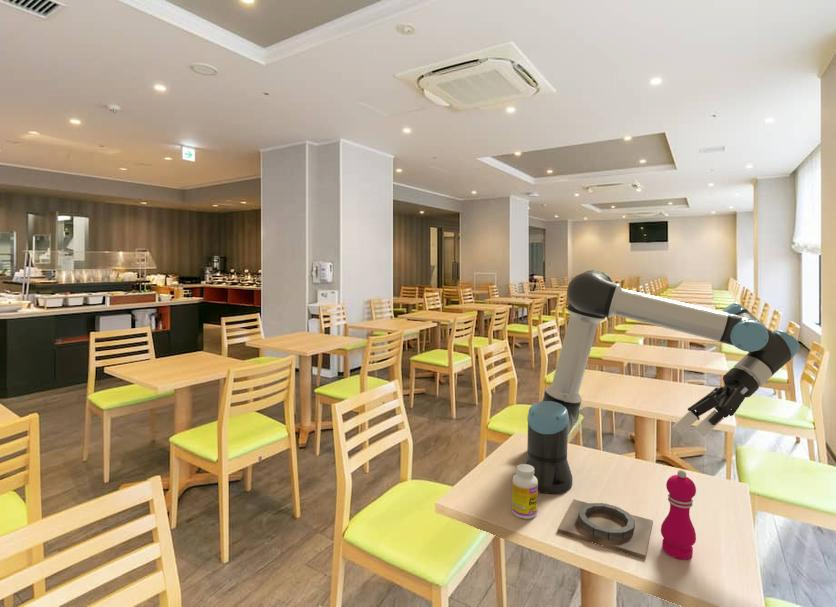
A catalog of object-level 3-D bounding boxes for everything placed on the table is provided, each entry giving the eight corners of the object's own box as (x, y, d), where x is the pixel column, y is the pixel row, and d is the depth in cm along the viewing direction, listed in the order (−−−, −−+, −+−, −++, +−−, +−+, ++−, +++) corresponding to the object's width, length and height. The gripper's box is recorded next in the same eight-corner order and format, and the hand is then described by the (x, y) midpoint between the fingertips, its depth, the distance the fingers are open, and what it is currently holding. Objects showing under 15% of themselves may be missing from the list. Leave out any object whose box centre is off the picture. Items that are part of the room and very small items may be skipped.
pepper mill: (657, 554, 109) (662, 472, 107) (661, 538, 115) (666, 460, 113) (693, 565, 105) (699, 481, 103) (695, 548, 111) (701, 468, 109)
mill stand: (557, 532, 118) (557, 521, 118) (573, 502, 131) (573, 492, 131) (645, 559, 107) (646, 547, 107) (652, 523, 121) (653, 513, 121)
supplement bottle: (530, 523, 122) (531, 476, 120) (507, 514, 126) (508, 468, 125) (541, 511, 127) (542, 466, 125) (519, 503, 131) (519, 459, 130)
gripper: (788, 385, 110) (723, 445, 109) (732, 391, 134) (678, 440, 133) (762, 360, 112) (698, 419, 110) (711, 371, 136) (658, 419, 134)
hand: (687, 431), depth 121 cm, fingers open, 13 cm apart
